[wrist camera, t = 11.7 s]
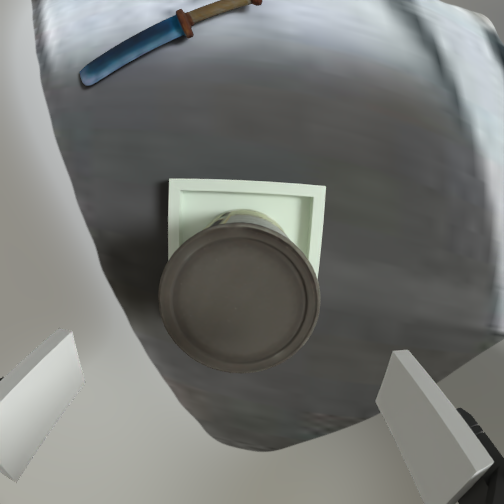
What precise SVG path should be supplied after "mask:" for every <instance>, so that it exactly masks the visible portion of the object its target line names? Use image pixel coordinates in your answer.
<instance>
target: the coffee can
mask: <svg viewBox="0 0 504 504" xmlns="http://www.w3.org/2000/svg"><path fill="white" fill-rule="evenodd" d="M158 300H159V309H160V314H161V318H162V321H163V323H164V326H165V328H166V330H167V332H168V334H169V335H170V336H171V338H172V339H173V341H174V342H175V343H176V344H177V345H178V346H179V347H180V348H181V349H182V350H183V351H184V352H185V353H186V354H187V355H188V356H190V357H191V358H192V359H194V360H195V361H197V362H199V363H201V364H203V365H205V366H207V367H210V368H212V369H216V370H220V371H224V372H230V373H251V372H258V371H262V370H266V369H269V368H271V367H274V366H276V365H279V364H281V363H282V362H284V361H286V360H287V359H289V358H290V357H291V356H293V355H294V354H295V353H296V352H297V351H298V350H299V349H300V348H301V347H302V346H303V345H304V344H305V343H306V341H307V340H308V338H309V337H310V335H311V334H312V332H313V330H314V327H315V325H316V322H317V320H318V316H319V310H320V288H319V283H318V280H317V277H316V273H315V271H314V269H313V267H312V265H311V263H310V262H309V260H308V259H307V257H306V256H305V254H304V253H303V252H302V251H301V250H300V249H299V248H298V247H297V246H296V245H295V244H294V243H293V242H292V241H291V240H290V239H289V238H288V236H287V235H286V234H285V232H284V230H283V229H282V227H281V226H280V225H279V224H278V223H277V222H276V221H275V220H274V219H272V218H271V217H270V216H268V215H266V214H264V213H262V212H259V211H256V210H252V209H235V210H231V211H227V212H225V213H223V214H221V215H219V216H217V217H216V218H215V219H213V220H212V221H211V222H210V223H209V224H208V225H207V226H206V227H205V228H204V229H203V230H202V231H200V232H198V233H197V234H195V235H193V236H192V237H190V238H189V239H188V240H186V241H185V242H184V243H183V244H182V245H181V246H180V247H179V248H178V249H177V250H176V251H175V252H174V253H173V255H172V256H171V258H170V259H169V261H168V262H167V264H166V266H165V268H164V270H163V273H162V276H161V279H160V284H159V292H158Z"/></svg>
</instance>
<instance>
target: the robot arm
mask: <svg viewBox="0 0 504 504" xmlns="http://www.w3.org/2000/svg"><path fill="white" fill-rule="evenodd" d="M85 383H86V381H85V378H84V375H83V371H82V368H81V364H80V360H79V357H78V353H77V349H76V345H75V341H74V337H73V332H72V331H69V330H65V329H60V328H59V329H58V330H56V331H55V332H54V333H53V334H52V335H51V336H49V337H48V338H47V339H46V340H45V341H44V342H43V343H41V344H40V345H39V346H38V347H37V348H36V349H35V350H33V351H32V352H31V353H30V354H29V355H28V356H27V357H26V358H25V359H23V360H22V361H21V362H20V363H19V364H18V365H17V366H16V367H15V368H14V369H13V370H11V372H9V373H8V374H7V375H6V376H5V377H2V378H0V471H1V473H2V474H4V475H5V476H7V477H8V478H9V479H11V480H13V481H14V482H16V483H17V481H18V480H19V478H20V476H21V475H22V473H23V472H24V470H25V468H26V467H27V465H28V464H29V462H30V461H31V459H32V458H33V456H34V455H35V453H36V452H37V450H38V449H39V447H40V446H41V444H42V443H43V441H44V440H45V438H46V437H47V436H48V434H49V433H50V431H51V430H52V428H53V427H54V425H55V424H56V423H57V421H58V420H59V418H60V417H61V415H62V414H63V413H64V411H65V410H66V408H67V407H68V406H69V404H70V403H71V402H72V400H73V399H74V397H75V396H76V395H77V393H78V392H79V391H80V389H81V388H82V387H83V385H84V384H85ZM375 402H376V404H377V406H378V408H379V410H380V412H381V414H382V415H383V417H384V420H385V421H386V424H387V425H388V428H389V430H390V432H391V434H392V436H393V438H394V440H395V442H396V444H397V446H398V448H399V450H400V452H401V455H402V457H403V459H404V461H405V463H406V465H407V467H408V469H409V472H410V474H411V476H412V478H413V480H414V482H415V485H416V487H417V489H418V491H419V494H420V496H421V498H422V500H423V503H424V504H455V503H456V502H457V501H458V502H459V504H504V458H503V457H502V455H501V454H500V453H499V451H498V450H497V448H496V447H495V446H494V444H493V443H492V442H491V440H490V439H489V438H488V436H487V435H486V434H485V433H483V430H482V428H481V427H480V426H479V425H477V424H478V423H477V422H476V421H475V419H474V418H473V417H472V416H471V415H470V414H469V413H468V412H466V411H465V410H463V409H462V408H458V409H455V407H454V406H453V405H452V403H451V402H450V401H449V400H448V398H447V397H446V396H445V395H444V393H443V392H442V391H441V390H440V388H439V387H438V386H437V384H436V383H435V382H434V381H433V379H432V378H431V377H430V376H429V375H428V373H427V372H426V371H425V370H424V368H423V367H422V366H421V365H420V364H419V362H418V361H417V360H416V359H415V358H414V356H413V355H412V354H411V353H410V352H409V350H400V351H393V352H392V355H391V358H390V361H389V364H388V367H387V370H386V373H385V376H384V379H383V382H382V385H381V388H380V390H379V393H378V396H377V398H376V401H375Z"/></svg>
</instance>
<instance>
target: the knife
mask: <svg viewBox="0 0 504 504" xmlns="http://www.w3.org/2000/svg"><path fill="white" fill-rule="evenodd" d="M249 4H254V5H261V4H262V0H220V1H217V2H214V3H211V4H209V5H206V6H203V7H201V8H198V9H195V10H193V11H190V12H187V13H184V12H183V10H182V9H179V10H177V11H176V15H175V16H173V17H170V18H168V19H166V20H164V21H162V22H160V23H158V24H156V25H153V26H151V27H149V28H148V29H146V30H144V31H142V32H140V33H138V34H136V35H134V36H132V37H131V38H129V39H127V40H125V41H124V42H122V43H120V44H119V45H117V46H115V47H114V48H112V49H110V50H109V51H107V52H106V53H104V54H102V55H101V56H99V57H98V58H96V59H95V60H93V61H92V62H90V63H89V64H88V65H86V66H85V67H84V68H83V69H82V70H81V71H80V77H81V80H82V82H83V83H84V84H85V85H86V86H87V85H92V84H94V83H96V82H98V81H99V80H101V79H102V78H104V77H105V76H107V75H109V74H110V73H112V72H113V71H115V70H117V69H118V68H120V67H122V66H123V65H125V64H127V63H128V62H130V61H132V60H134V59H136V58H137V57H139V56H141V55H143V54H145V53H147V52H149V51H151V50H153V49H154V48H156V47H158V46H161V45H163V44H165V43H167V42H169V41H171V40H173V39H175V38H178V37H180V36H182V35H186V37H187V38H191V37H193V32H192V29H191V26H193V25H194V23H196V22H199V21H201V20H204V19H207V18H209V17H212V16H215V15H218V14H220V13H223V12H226V11H229V10H233V9H236V8H239V7H242V6H246V5H249Z"/></svg>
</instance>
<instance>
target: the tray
mask: <svg viewBox="0 0 504 504" xmlns="http://www.w3.org/2000/svg"><path fill="white" fill-rule="evenodd" d="M325 192H326V186H317V185H306V184H294V183H280V182H264V181H245V180H220V179H169V205H168V261H169V259H170V258H171V256H172V255H173V253H174V252H175V251H176V250H177V249H178V248H179V247H180V246H181V245H182V244H183V243H184V242H185V241H186V240H188V239H189V238H190V237H192V236H193V235H195V234H197V233H198V232H200V231H202V230H203V229H204V228H205V227H206V226H207V225H208V224H209V223H210V222H211V221H212V220H213V219H215V218H216V217H217V216H219V215H221V214H223V213H225V212H227V211H231V210H235V209H252V210H256V211H259V212H262V213H264V214H266V215H268V216H270V217H271V218H272V219H274V220H275V221H276V222H277V223H278V224H279V225H280V226H281V227H282V229H283V230H284V232H285V234H286V235H287V236H288V238H289V239H290V240H291V241H292V242H293V243H294V244H295V245H296V246H297V247H298V248H299V249H300V250H301V251H302V252H303V253H304V254H305V256H306V257H307V259H308V260H309V262H310V263H311V265H312V267H313V269H314V271H315V273H316V277H317V279H318V270H319V261H320V252H321V241H322V231H323V219H324V206H325Z"/></svg>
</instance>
